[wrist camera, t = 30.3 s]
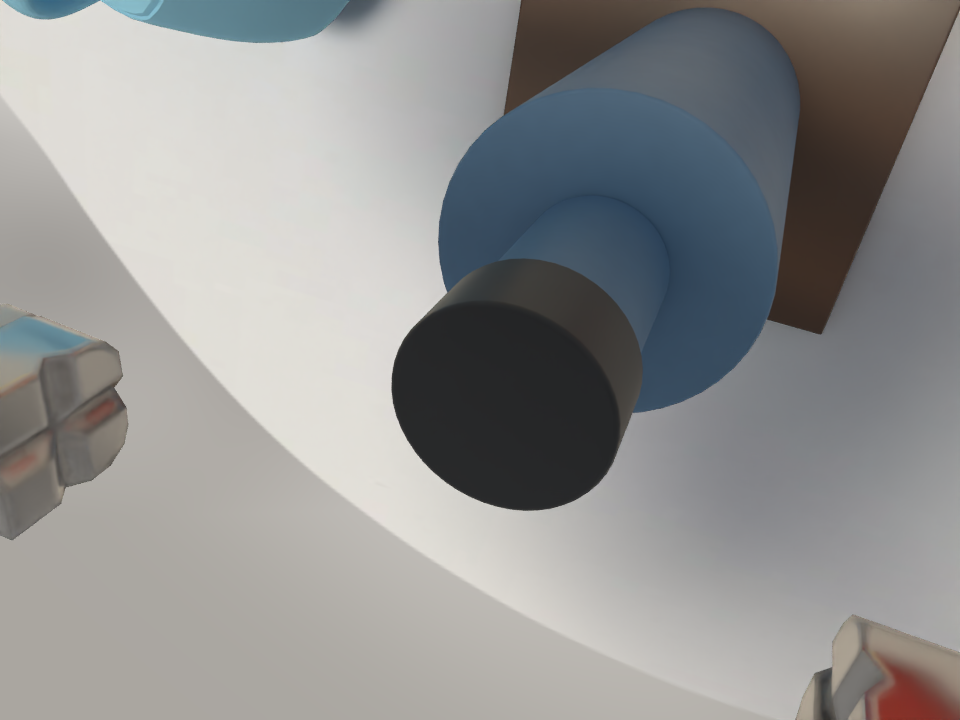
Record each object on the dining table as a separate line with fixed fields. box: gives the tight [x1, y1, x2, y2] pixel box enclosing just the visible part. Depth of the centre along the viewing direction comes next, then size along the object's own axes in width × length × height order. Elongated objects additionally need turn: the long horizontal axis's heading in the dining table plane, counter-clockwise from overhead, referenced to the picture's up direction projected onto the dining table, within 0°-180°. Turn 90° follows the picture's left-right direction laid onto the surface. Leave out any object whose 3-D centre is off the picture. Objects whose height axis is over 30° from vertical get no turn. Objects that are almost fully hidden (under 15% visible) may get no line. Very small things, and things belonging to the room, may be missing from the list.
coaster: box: [504, 0, 960, 334], centre depth 25 cm, size 12×12×1 cm
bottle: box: [392, 8, 800, 511], centre depth 18 cm, size 6×13×18 cm, turn 82°
